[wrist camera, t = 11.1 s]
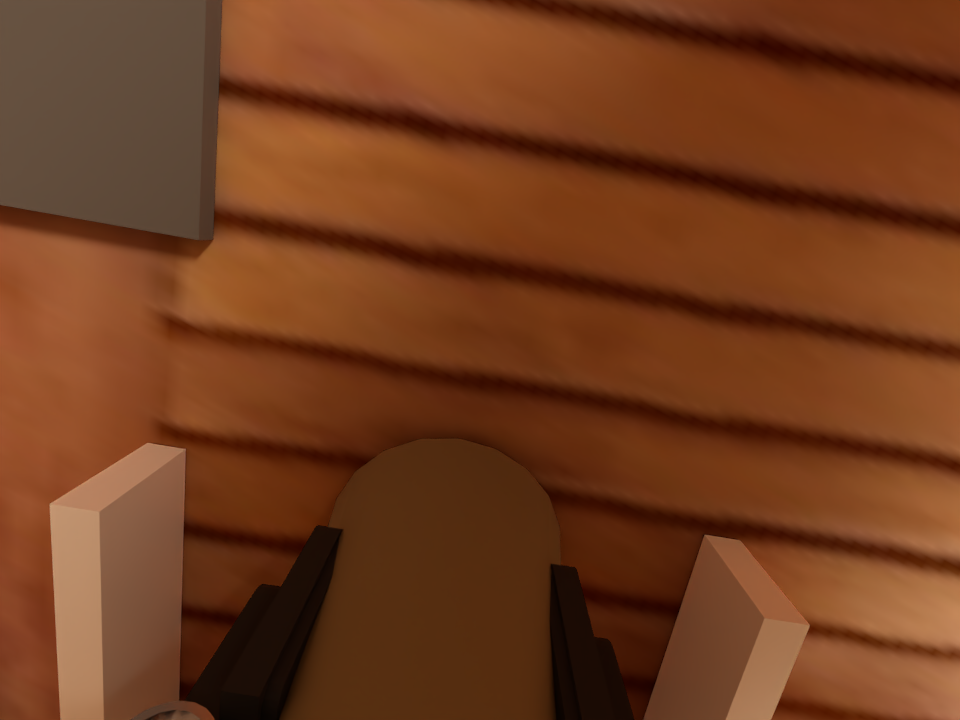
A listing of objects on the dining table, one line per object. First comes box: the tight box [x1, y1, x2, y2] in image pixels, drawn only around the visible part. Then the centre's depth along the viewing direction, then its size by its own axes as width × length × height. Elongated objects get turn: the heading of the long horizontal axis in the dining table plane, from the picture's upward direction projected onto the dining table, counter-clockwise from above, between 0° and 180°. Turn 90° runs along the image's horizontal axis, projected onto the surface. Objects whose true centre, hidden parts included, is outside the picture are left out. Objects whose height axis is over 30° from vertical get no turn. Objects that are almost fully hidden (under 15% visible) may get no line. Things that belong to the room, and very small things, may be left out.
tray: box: [50, 443, 810, 720], centre depth 13 cm, size 12×16×3 cm
